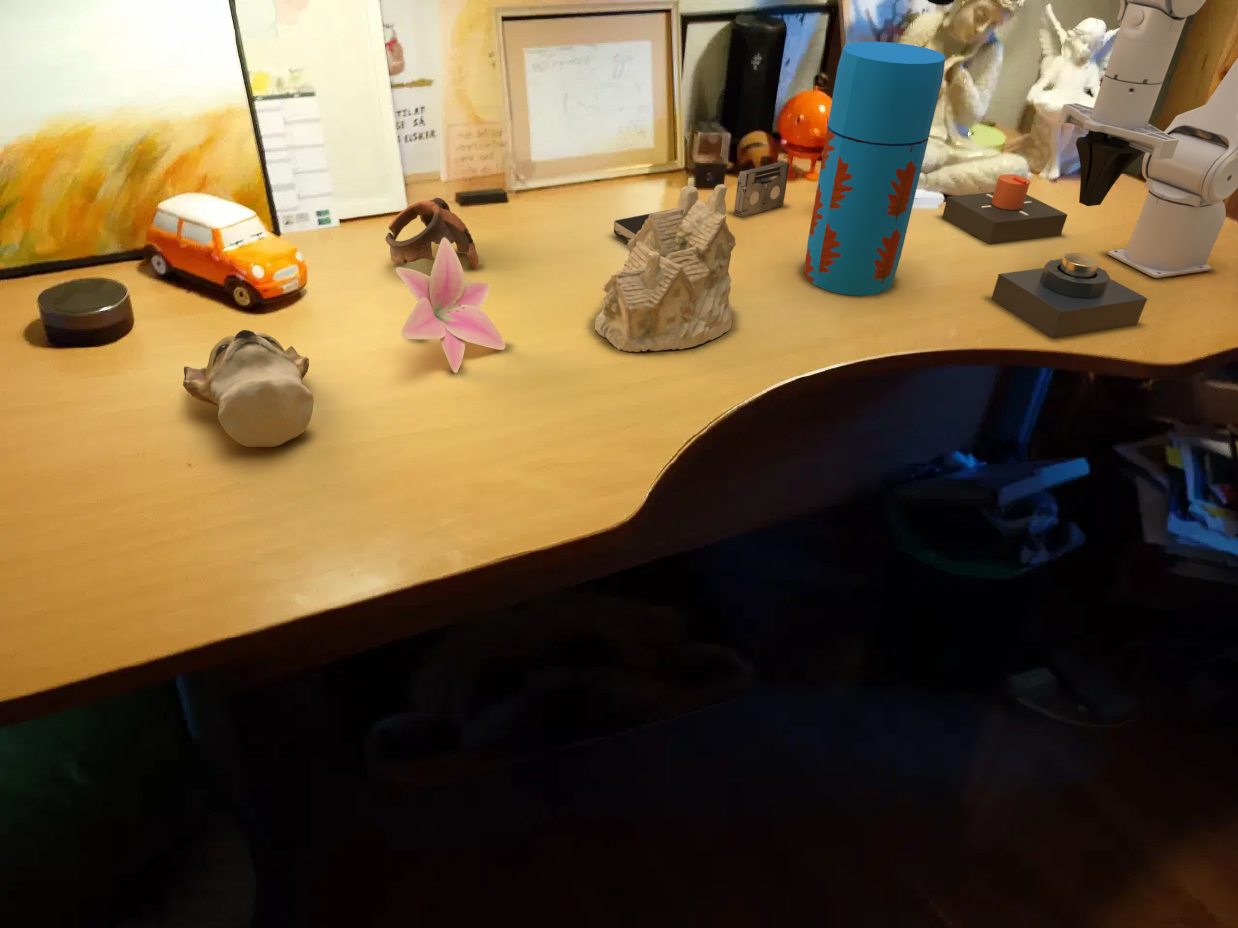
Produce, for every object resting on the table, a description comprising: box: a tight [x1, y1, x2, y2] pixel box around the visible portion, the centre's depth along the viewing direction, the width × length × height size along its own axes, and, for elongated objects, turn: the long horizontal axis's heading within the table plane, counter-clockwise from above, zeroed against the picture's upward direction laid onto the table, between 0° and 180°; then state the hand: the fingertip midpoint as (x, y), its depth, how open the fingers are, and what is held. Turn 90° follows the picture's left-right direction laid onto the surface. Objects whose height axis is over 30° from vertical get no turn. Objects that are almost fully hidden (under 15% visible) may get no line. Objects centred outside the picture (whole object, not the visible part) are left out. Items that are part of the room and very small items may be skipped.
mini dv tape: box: [733, 161, 790, 218], centre depth 124 cm, size 8×2×6 cm, turn 128°
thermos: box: [803, 41, 946, 297], centre depth 101 cm, size 11×11×25 cm
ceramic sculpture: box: [182, 329, 314, 448], centre depth 77 cm, size 11×9×15 cm
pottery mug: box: [384, 197, 480, 270], centre depth 106 cm, size 12×10×8 cm
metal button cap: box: [1059, 252, 1100, 279], centre depth 100 cm, size 4×4×2 cm
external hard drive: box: [613, 208, 673, 243], centre depth 115 cm, size 7×11×2 cm, turn 122°
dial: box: [992, 174, 1031, 210], centre depth 121 cm, size 4×4×4 cm
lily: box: [395, 237, 506, 374], centre depth 88 cm, size 12×12×10 cm
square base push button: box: [990, 258, 1148, 339], centre depth 101 cm, size 12×10×5 cm
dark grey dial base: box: [941, 191, 1068, 245], centre depth 123 cm, size 12×10×3 cm
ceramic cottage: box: [594, 183, 737, 353], centre depth 94 cm, size 16×16×15 cm
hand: (1089, 203), depth 104 cm, fingers closed
